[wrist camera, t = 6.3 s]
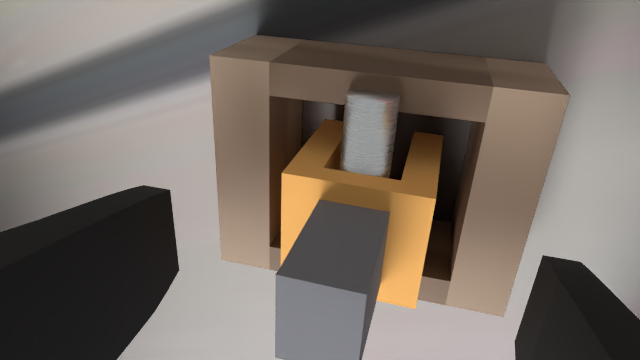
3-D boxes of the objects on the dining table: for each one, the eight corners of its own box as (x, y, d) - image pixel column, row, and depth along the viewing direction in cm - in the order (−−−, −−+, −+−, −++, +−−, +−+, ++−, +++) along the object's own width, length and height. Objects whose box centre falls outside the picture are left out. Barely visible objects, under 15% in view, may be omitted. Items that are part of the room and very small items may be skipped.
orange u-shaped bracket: (426, 226, 14) (401, 409, 9) (320, 206, 15) (233, 364, 9) (443, 135, 13) (426, 282, 7) (325, 119, 14) (227, 240, 8)
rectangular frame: (495, 251, 15) (506, 339, 12) (258, 210, 16) (209, 276, 13) (545, 63, 12) (579, 107, 9) (255, 34, 14) (193, 62, 10)
